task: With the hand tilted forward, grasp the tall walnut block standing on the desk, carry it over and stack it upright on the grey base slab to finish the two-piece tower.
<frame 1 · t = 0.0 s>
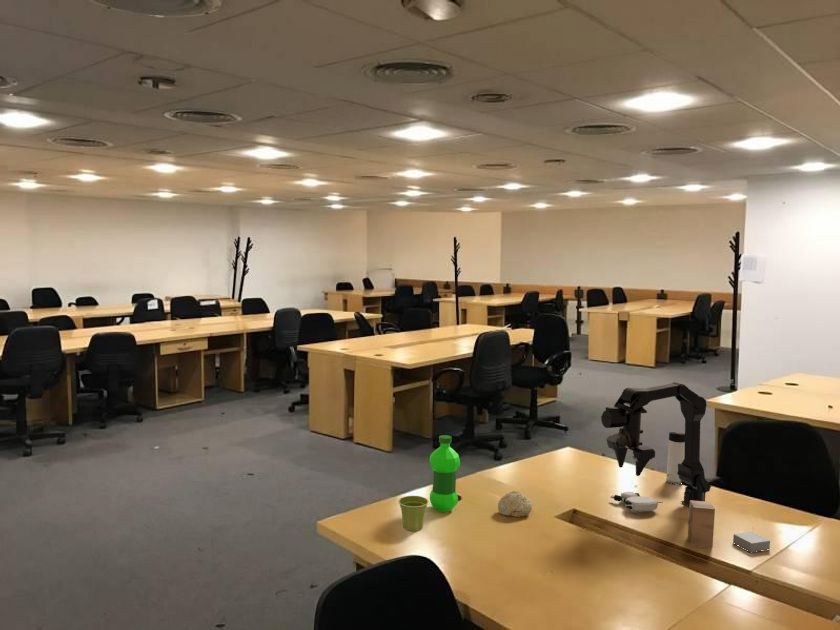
hand: (629, 471, 225), 15 cm above the table, tool pointing down, fingers open, 9 cm apart
walnut block: (699, 542, 204), on the table
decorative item: (515, 513, 225), on the table
plastic bottle: (443, 509, 227), on the table
robot toy: (635, 508, 232), on the table
plant pot: (412, 528, 211), on the table
travel mug: (674, 482, 260), on the table
base slab: (751, 546, 202), on the table
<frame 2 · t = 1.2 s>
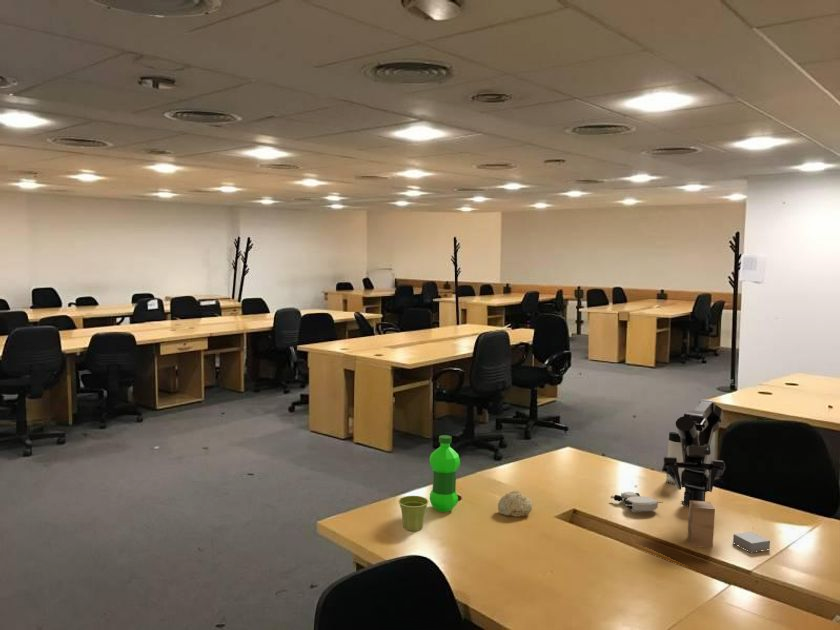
hand: (695, 490, 212), 13 cm above the table, tool tilted 45°, fingers open, 9 cm apart
nothing on the table moved.
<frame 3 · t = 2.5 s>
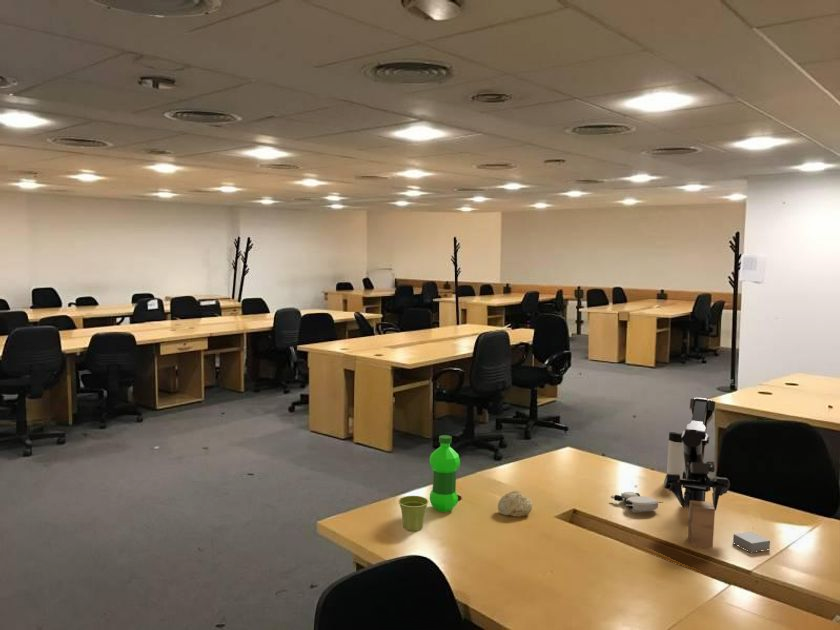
hand: (699, 508, 206), 10 cm above the table, tool tilted 45°, fingers open, 9 cm apart
nothing on the table moved.
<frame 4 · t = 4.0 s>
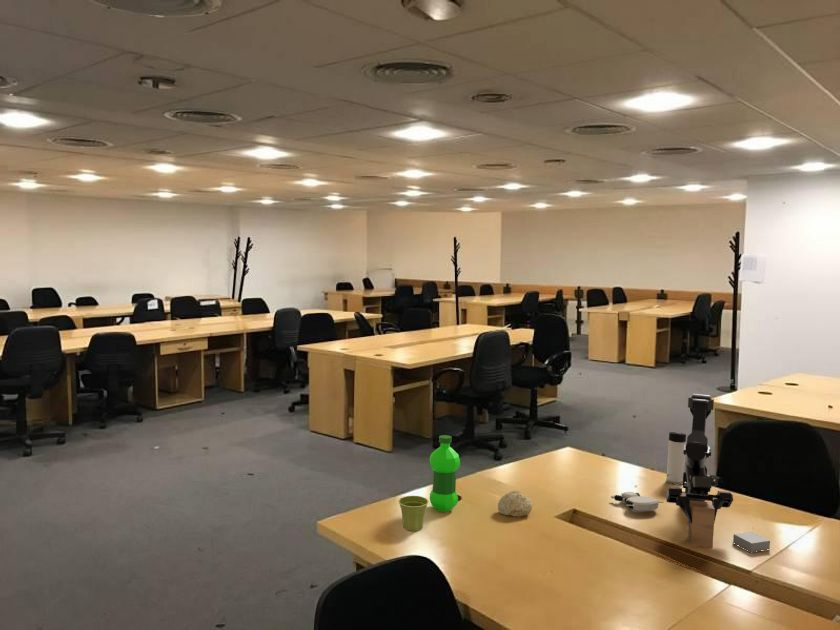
hand: (702, 523, 202), 7 cm above the table, tool tilted 45°, fingers closed on walnut block, 6 cm apart
walnut block: (699, 542, 204), on the table, touching gripper
everything else where it was.
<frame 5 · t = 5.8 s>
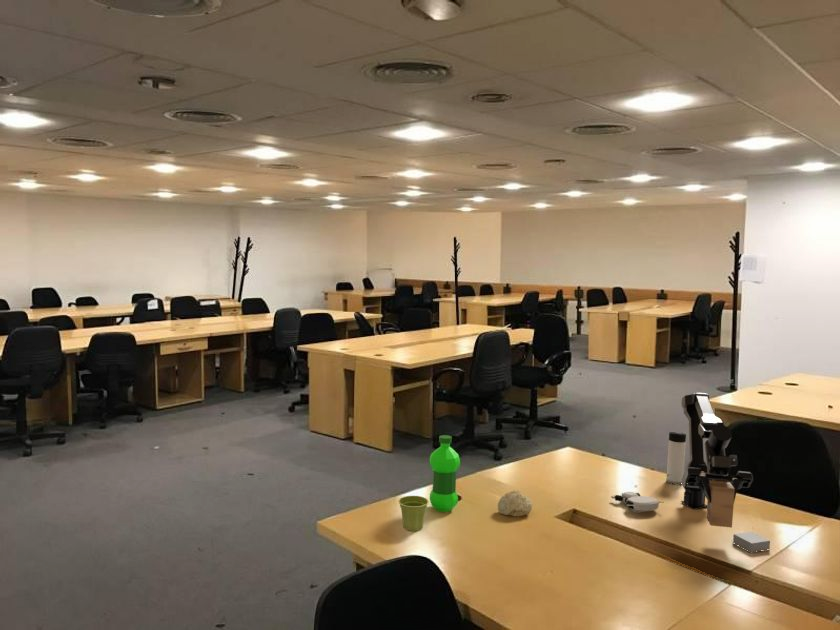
hand: (721, 503, 201), 13 cm above the table, tool tilted 45°, fingers closed on walnut block, 6 cm apart
walnut block: (718, 522, 203), point 7 cm above the table, touching gripper
everything else where it was.
when the fingers open (10 cm above the table, at t = 7.6 s): walnut block stays where it is, resting on base slab.
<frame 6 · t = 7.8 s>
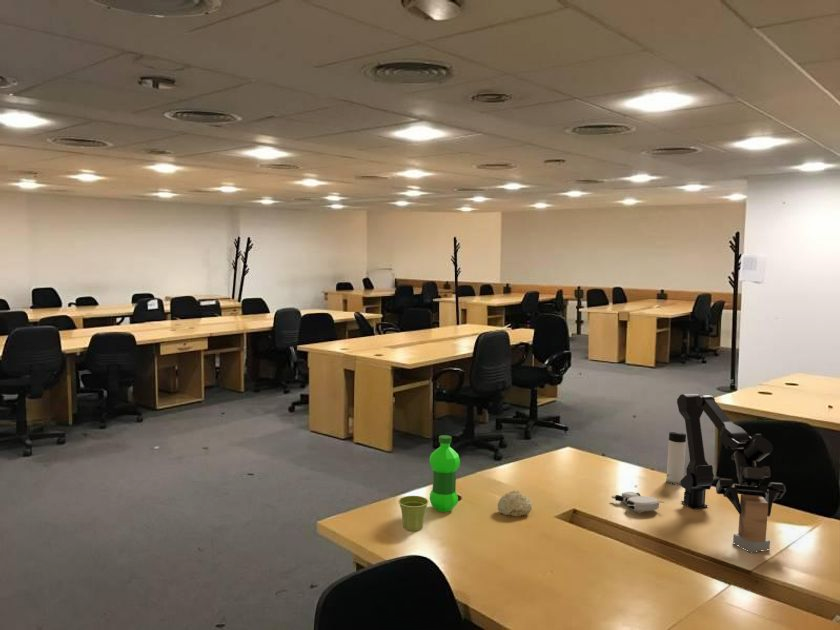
hand: (754, 514, 200), 11 cm above the table, tool tilted 45°, fingers open, 8 cm apart
walnut block: (751, 537, 202), point 3 cm above the table, touching base slab
everything else where it was.
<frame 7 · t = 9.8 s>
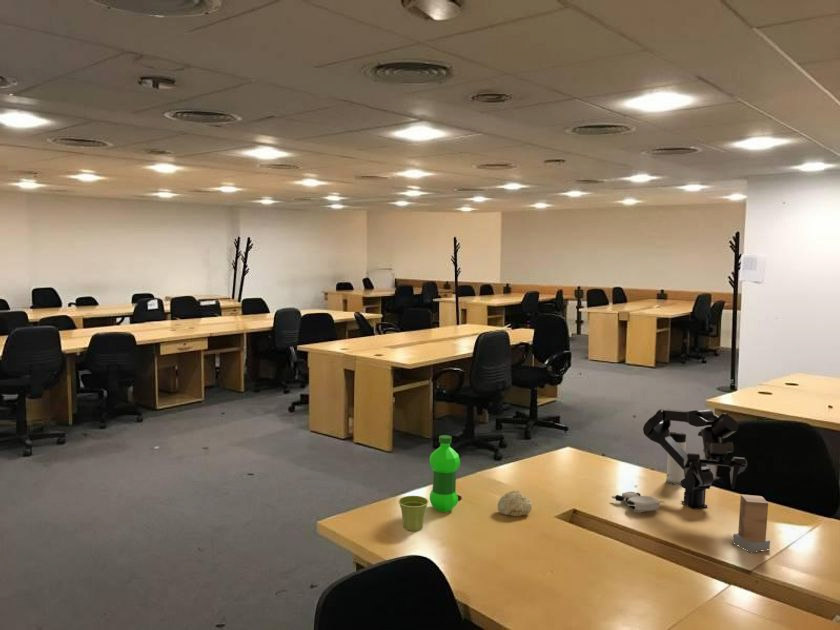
hand: (718, 486, 217), 13 cm above the table, tool tilted 45°, fingers open, 9 cm apart
nothing on the table moved.
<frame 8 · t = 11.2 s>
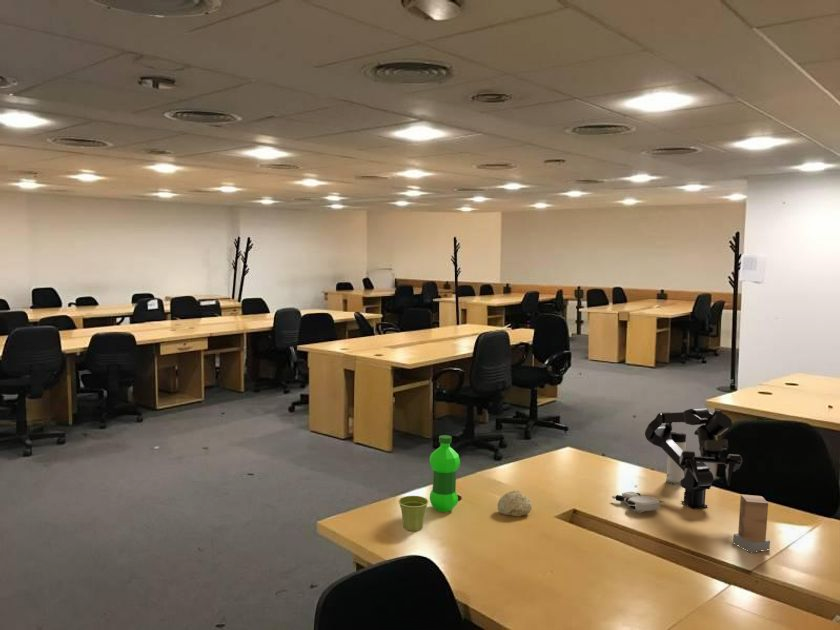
hand: (713, 483, 218), 14 cm above the table, tool tilted 45°, fingers open, 9 cm apart
nothing on the table moved.
at the end: walnut block 0.0 cm off-centre on the base slab, point 3.0 cm above the base slab's base; walnut block tilted 0°; the gripper is holding nothing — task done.
